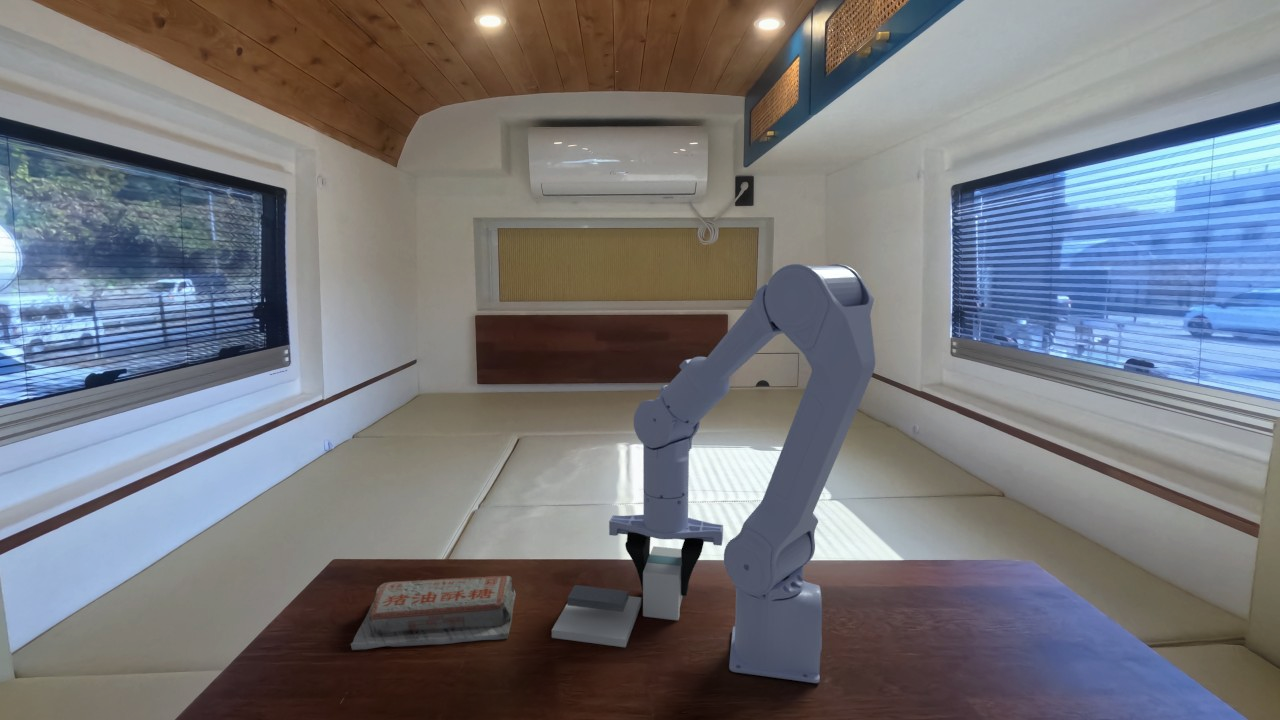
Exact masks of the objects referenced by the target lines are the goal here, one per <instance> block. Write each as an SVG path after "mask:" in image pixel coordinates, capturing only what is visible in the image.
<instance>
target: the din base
mask: <svg viewBox="0 0 1280 720" xmlns="http://www.w3.org/2000/svg"><path fill="white" fill-rule="evenodd" d="M641 607H642V597H639V596H631V595H629V599H628V601H627V603H626V606H625V608H624V611H623V612H619V611H611V610H602V609H594V608H586V607H578V606H569V605H568V603H567V602H566V604H565V606H564V608H563V610H562V611H561V613H560V615H559V616H558V619H557V620H556V621H555V623H554V625H553V627H552V629H551V638H552V639H559V640H566V641H567V640H568V641H575V642H582V643H589V644H590V643H591V644H597V645H604V646H614V647H619V648H626V647H627V645H628V642H629V639H630V636H631V634H632V630H633V628H634V625H635V623H636V619H637V618H638V614H639V612H640V609H641Z"/></svg>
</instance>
